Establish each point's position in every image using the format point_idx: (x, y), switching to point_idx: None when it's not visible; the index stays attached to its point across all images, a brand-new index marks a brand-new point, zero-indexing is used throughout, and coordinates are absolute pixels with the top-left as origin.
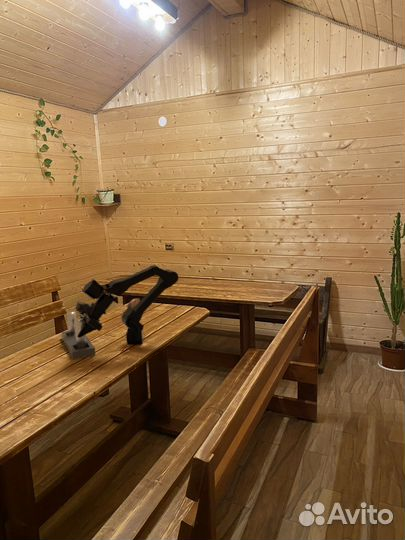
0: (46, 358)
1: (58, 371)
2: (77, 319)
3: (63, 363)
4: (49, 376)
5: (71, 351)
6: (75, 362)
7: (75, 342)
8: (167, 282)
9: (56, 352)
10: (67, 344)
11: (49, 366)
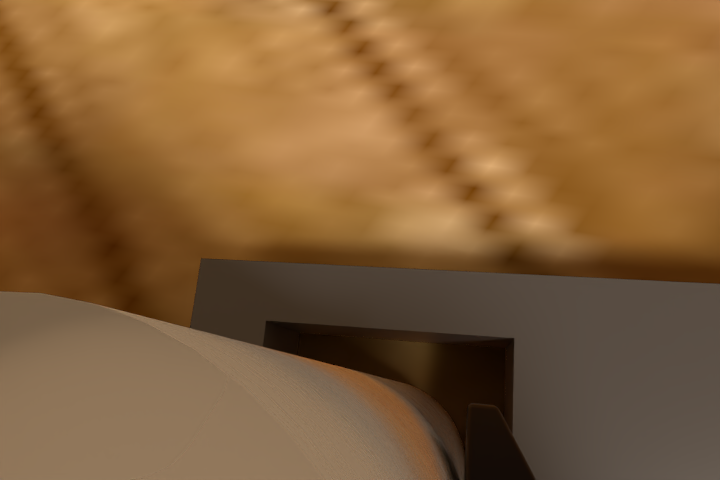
0: (480, 17)
1: (53, 88)
2: None
3: (205, 161)
4: (14, 10)
5: (277, 264)
6: (140, 284)
7: (645, 429)
8: None
9: (630, 143)
10: (671, 285)
11: (227, 27)
